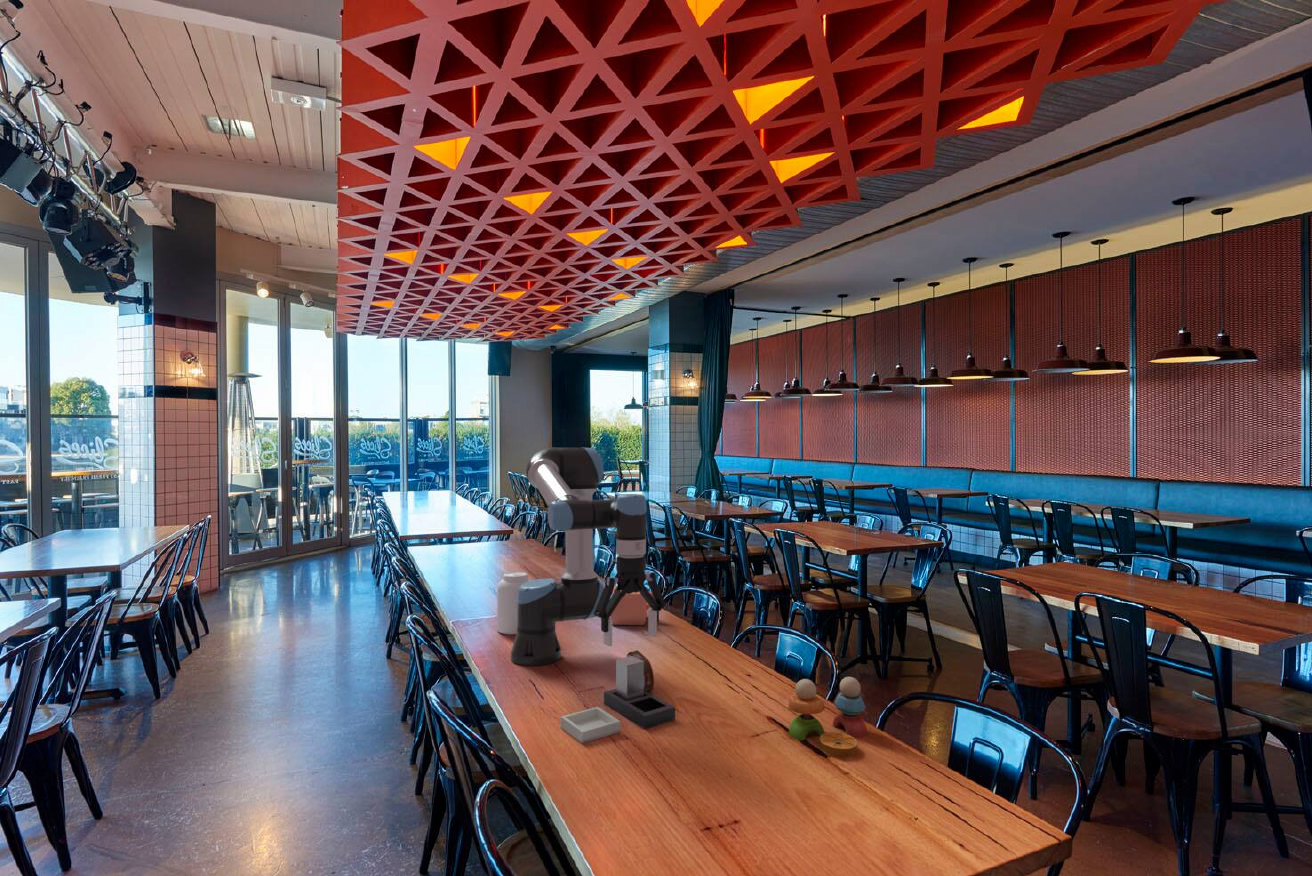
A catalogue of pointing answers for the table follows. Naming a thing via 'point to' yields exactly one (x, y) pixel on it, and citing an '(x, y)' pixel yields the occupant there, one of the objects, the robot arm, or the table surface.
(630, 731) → the table surface
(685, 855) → the table surface
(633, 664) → the grey rectangular block
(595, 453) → the robot arm
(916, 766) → the table surface
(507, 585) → the white bottle
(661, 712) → the dark rectangular frame
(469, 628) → the table surface
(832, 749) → the wooden stacking toy
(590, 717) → the tray
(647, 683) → the tin
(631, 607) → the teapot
